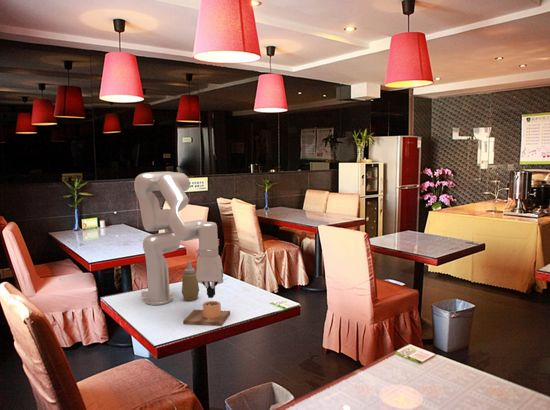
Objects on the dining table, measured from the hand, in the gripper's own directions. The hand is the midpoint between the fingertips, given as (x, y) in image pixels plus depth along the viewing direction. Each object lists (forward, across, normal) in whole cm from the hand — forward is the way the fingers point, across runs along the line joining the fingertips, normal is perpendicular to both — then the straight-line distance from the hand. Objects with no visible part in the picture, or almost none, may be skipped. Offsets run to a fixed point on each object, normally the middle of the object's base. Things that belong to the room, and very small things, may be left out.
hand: (211, 296), depth 169 cm
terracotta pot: (+8, 0, 0) cm, 8 cm away
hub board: (+10, -2, 0) cm, 10 cm away
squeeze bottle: (+10, -18, +23) cm, 31 cm away
